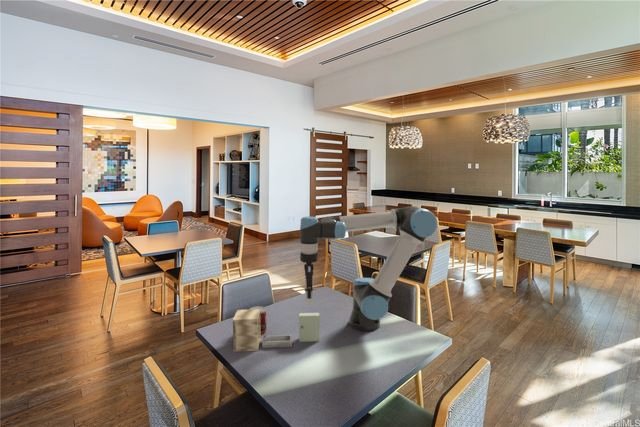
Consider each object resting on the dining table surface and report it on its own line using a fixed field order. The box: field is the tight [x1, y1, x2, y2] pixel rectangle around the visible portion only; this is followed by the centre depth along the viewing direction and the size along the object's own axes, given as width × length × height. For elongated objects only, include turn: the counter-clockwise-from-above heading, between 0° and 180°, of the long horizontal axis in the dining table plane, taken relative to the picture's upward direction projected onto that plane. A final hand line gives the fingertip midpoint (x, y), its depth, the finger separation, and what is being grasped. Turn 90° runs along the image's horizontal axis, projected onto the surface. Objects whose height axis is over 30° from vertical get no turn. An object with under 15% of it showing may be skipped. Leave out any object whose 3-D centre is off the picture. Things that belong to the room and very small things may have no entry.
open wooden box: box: [232, 308, 262, 352], centre depth 142 cm, size 10×10×14 cm
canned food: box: [248, 305, 267, 336], centre depth 154 cm, size 8×8×11 cm
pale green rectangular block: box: [298, 312, 320, 343], centre depth 146 cm, size 9×4×12 cm, turn 94°
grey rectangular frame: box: [261, 334, 293, 349], centre depth 143 cm, size 13×6×3 cm, turn 94°
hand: (308, 299), depth 145 cm, fingers open, 13 cm apart
